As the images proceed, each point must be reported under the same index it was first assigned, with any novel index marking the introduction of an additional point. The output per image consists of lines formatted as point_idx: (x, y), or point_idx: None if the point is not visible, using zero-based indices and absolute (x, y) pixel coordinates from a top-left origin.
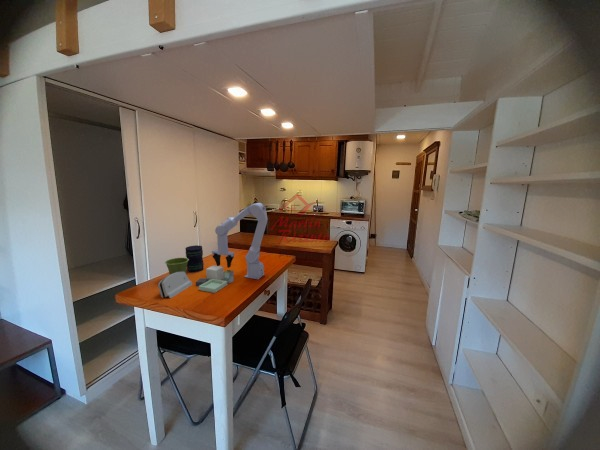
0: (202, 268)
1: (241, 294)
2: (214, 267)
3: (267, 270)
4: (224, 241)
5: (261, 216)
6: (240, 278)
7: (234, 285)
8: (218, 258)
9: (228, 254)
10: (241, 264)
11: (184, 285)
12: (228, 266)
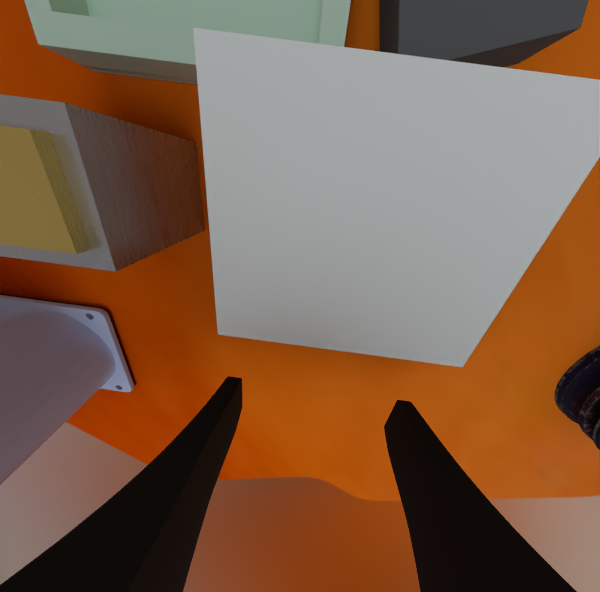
0: (578, 395)
1: None
2: (388, 270)
3: (76, 422)
4: None
5: None
6: (119, 283)
7: (10, 87)
8: (442, 566)
9: None
10: (290, 471)
11: None
12: (217, 391)
